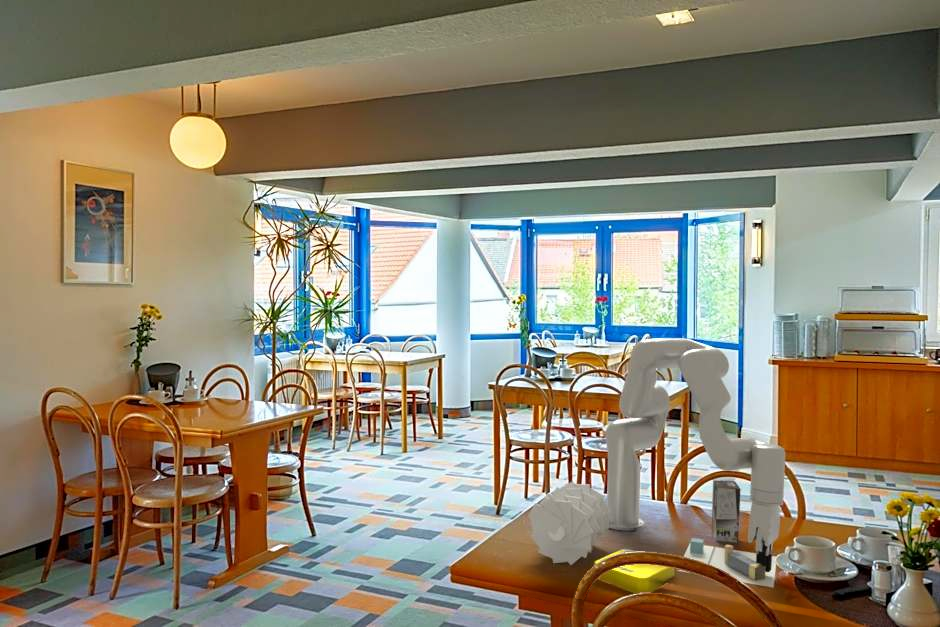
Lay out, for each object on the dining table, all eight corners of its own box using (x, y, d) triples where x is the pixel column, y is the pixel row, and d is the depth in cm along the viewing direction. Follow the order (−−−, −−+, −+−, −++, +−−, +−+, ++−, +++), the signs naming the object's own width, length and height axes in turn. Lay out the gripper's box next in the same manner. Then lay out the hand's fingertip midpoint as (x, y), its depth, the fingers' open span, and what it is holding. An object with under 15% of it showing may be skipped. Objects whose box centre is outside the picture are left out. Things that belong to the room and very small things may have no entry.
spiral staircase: (595, 556, 204) (571, 584, 181) (541, 520, 211) (511, 542, 188) (626, 500, 201) (605, 521, 178) (570, 466, 208) (544, 481, 185)
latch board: (676, 575, 181) (677, 552, 181) (689, 547, 202) (690, 527, 202) (773, 592, 172) (774, 568, 172) (776, 561, 193) (777, 540, 192)
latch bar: (727, 565, 185) (727, 553, 185) (737, 563, 186) (737, 551, 186) (754, 580, 176) (755, 567, 175) (765, 578, 176) (765, 566, 176)
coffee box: (739, 547, 203) (741, 488, 203) (714, 544, 204) (716, 487, 204) (734, 536, 212) (736, 480, 212) (710, 534, 213) (712, 479, 213)
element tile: (589, 579, 178) (590, 559, 178) (623, 564, 189) (624, 545, 189) (644, 598, 168) (645, 577, 168) (677, 581, 179) (677, 561, 179)
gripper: (760, 486, 187) (757, 558, 188) (741, 498, 176) (737, 574, 176) (791, 492, 183) (788, 565, 184) (773, 505, 171) (770, 583, 172)
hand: (763, 569), depth 180 cm, fingers closed
